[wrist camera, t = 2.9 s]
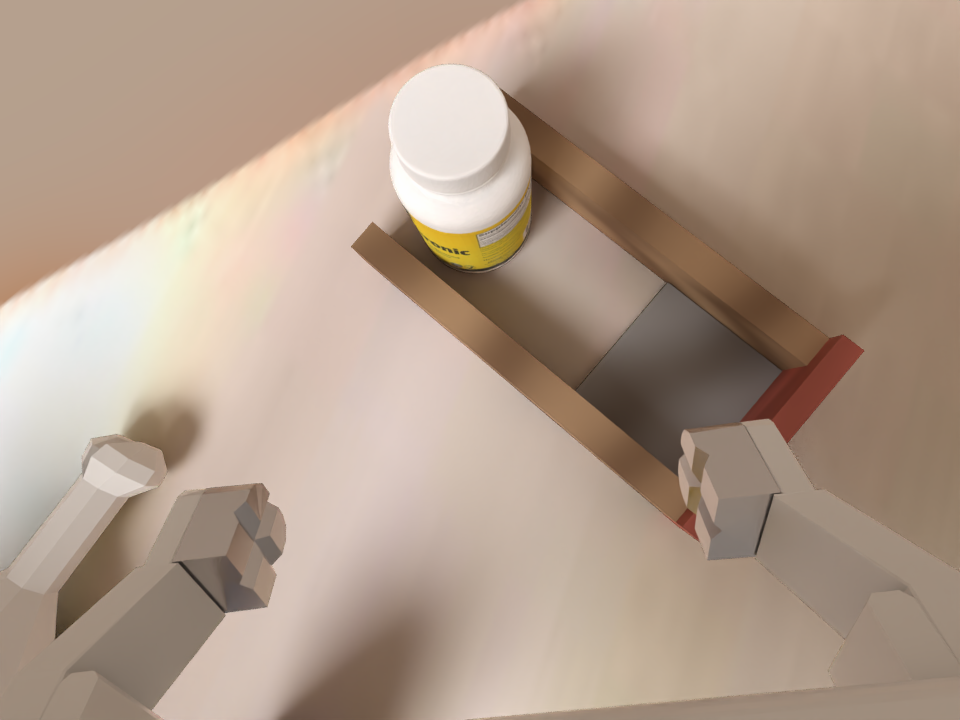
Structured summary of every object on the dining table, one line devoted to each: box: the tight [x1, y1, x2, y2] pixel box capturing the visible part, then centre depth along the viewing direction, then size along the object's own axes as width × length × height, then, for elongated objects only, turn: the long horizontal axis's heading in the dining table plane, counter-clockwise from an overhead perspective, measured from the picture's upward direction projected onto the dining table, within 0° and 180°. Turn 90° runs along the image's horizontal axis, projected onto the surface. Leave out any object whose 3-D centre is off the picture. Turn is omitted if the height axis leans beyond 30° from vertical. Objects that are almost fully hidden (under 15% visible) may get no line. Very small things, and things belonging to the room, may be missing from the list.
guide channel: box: [351, 89, 864, 542], centre depth 25 cm, size 20×10×4 cm, turn 49°
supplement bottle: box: [388, 64, 531, 273], centre depth 23 cm, size 5×5×10 cm
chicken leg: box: [0, 434, 168, 700], centre depth 25 cm, size 8×18×8 cm, turn 150°
